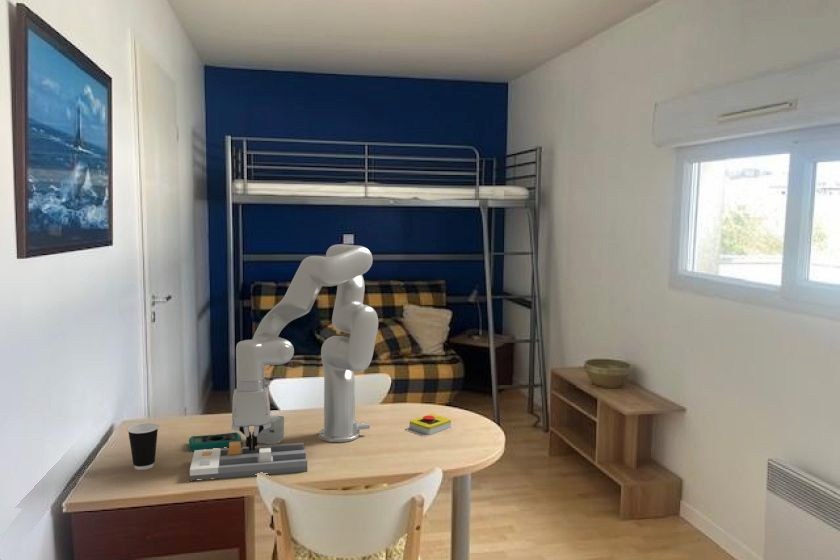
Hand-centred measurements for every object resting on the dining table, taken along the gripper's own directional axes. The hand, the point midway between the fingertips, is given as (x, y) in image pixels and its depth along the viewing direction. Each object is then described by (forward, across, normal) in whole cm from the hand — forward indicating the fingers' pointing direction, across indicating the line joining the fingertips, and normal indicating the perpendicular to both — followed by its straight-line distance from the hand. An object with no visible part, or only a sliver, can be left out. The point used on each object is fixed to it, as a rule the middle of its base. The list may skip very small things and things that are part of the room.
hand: (251, 448), depth 179 cm
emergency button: (+5, -57, -17) cm, 59 cm away
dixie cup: (+4, +28, -2) cm, 29 cm away
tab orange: (+2, +4, 0) cm, 5 cm away
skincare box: (+4, -5, -16) cm, 17 cm away
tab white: (+2, -4, +7) cm, 8 cm away
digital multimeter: (+4, +11, -15) cm, 19 cm away
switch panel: (+4, 0, +4) cm, 5 cm away
